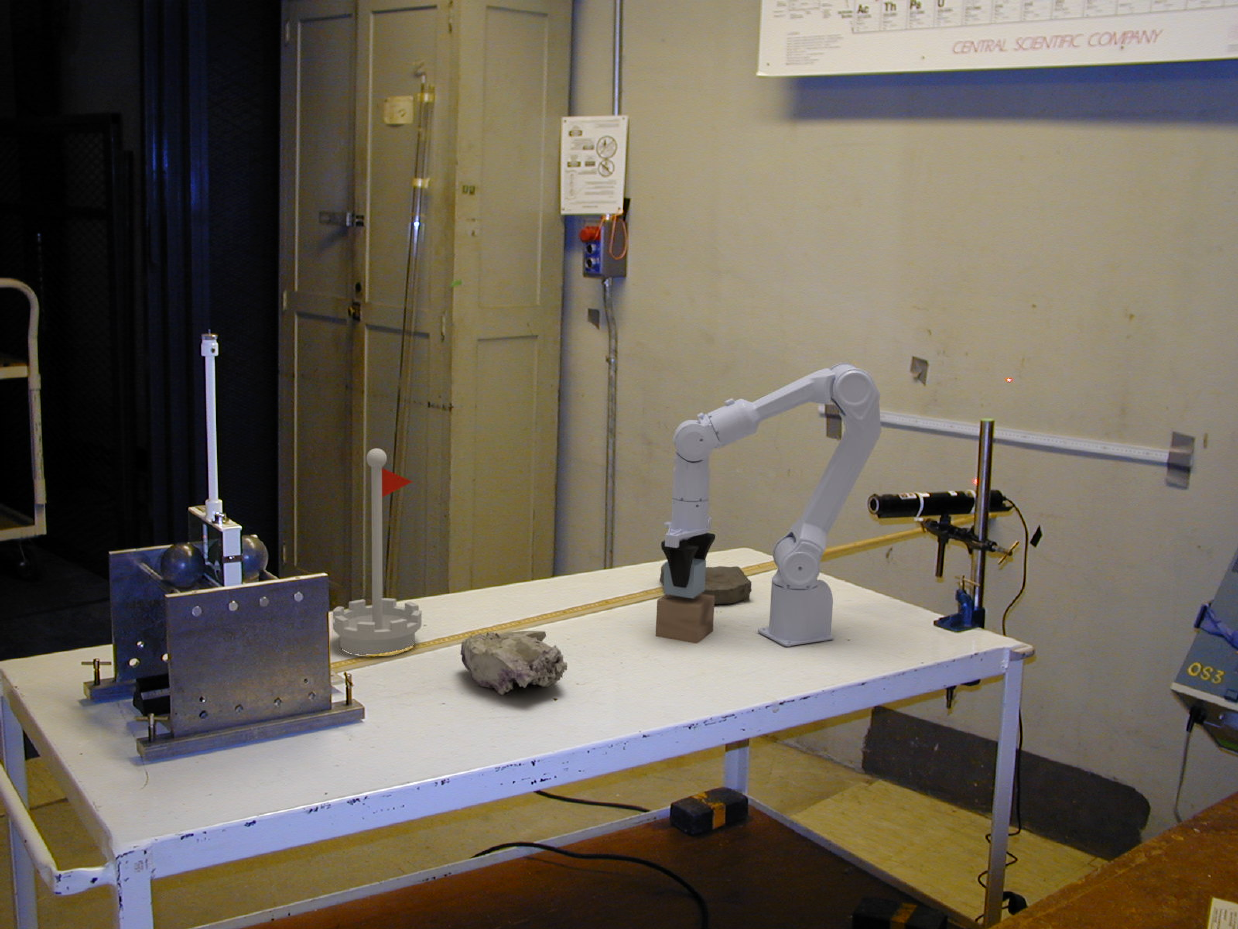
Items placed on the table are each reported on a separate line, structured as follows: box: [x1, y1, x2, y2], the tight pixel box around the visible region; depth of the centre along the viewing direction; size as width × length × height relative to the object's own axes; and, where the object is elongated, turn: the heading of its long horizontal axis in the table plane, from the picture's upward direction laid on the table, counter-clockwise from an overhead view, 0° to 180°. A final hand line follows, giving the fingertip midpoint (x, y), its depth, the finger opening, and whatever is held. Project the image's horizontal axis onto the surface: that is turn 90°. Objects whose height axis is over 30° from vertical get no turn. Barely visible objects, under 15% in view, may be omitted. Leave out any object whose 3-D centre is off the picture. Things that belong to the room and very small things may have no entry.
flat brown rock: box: [659, 563, 752, 605], centre depth 211 cm, size 17×15×4 cm
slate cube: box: [663, 558, 707, 598], centre depth 188 cm, size 5×5×5 cm
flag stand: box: [332, 447, 422, 655], centre depth 177 cm, size 13×13×30 cm
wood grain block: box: [655, 594, 715, 644], centre depth 189 cm, size 7×7×6 cm
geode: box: [460, 630, 568, 695], centre depth 165 cm, size 17×9×15 cm
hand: (686, 582), depth 188 cm, fingers closed on slate cube, 5 cm apart
